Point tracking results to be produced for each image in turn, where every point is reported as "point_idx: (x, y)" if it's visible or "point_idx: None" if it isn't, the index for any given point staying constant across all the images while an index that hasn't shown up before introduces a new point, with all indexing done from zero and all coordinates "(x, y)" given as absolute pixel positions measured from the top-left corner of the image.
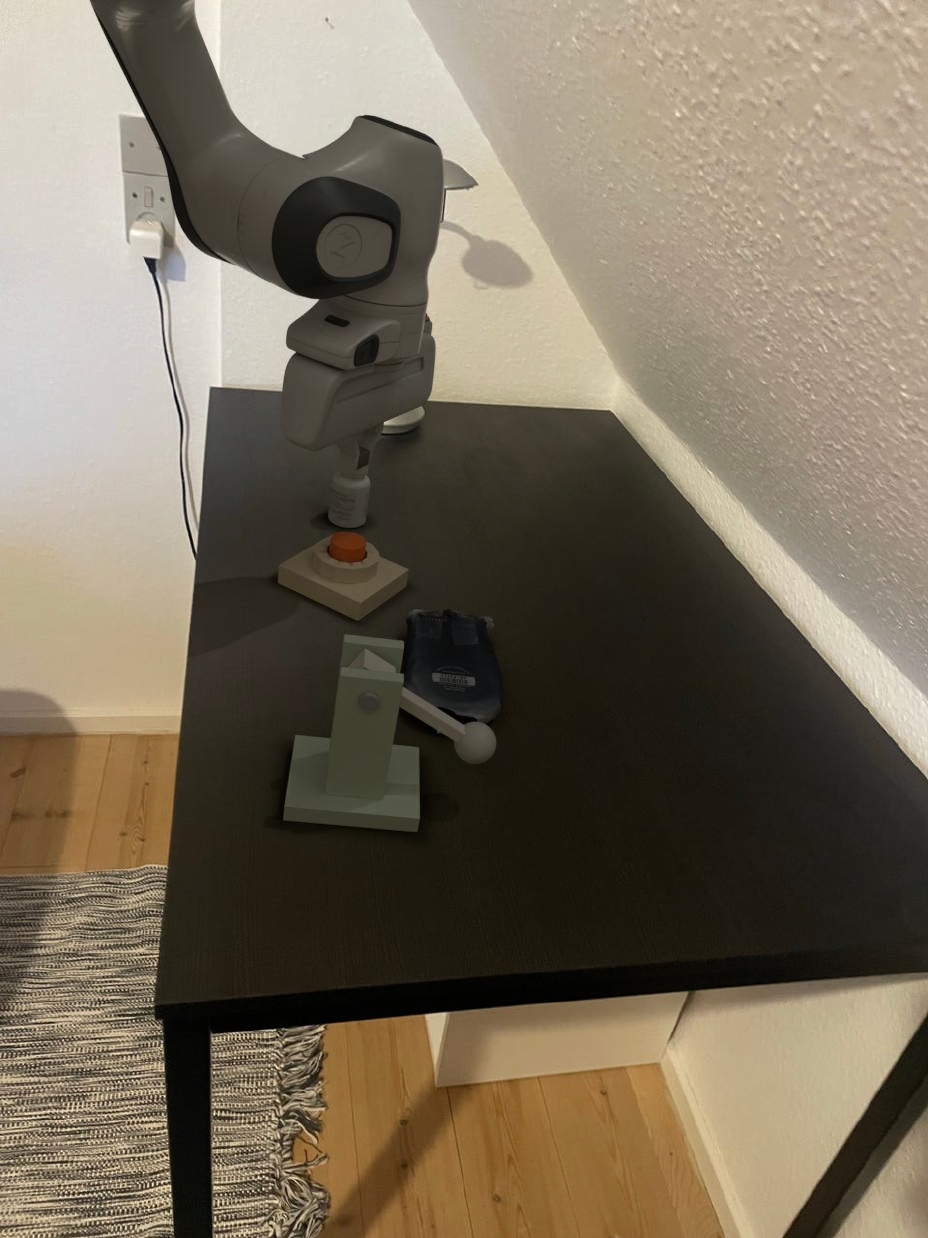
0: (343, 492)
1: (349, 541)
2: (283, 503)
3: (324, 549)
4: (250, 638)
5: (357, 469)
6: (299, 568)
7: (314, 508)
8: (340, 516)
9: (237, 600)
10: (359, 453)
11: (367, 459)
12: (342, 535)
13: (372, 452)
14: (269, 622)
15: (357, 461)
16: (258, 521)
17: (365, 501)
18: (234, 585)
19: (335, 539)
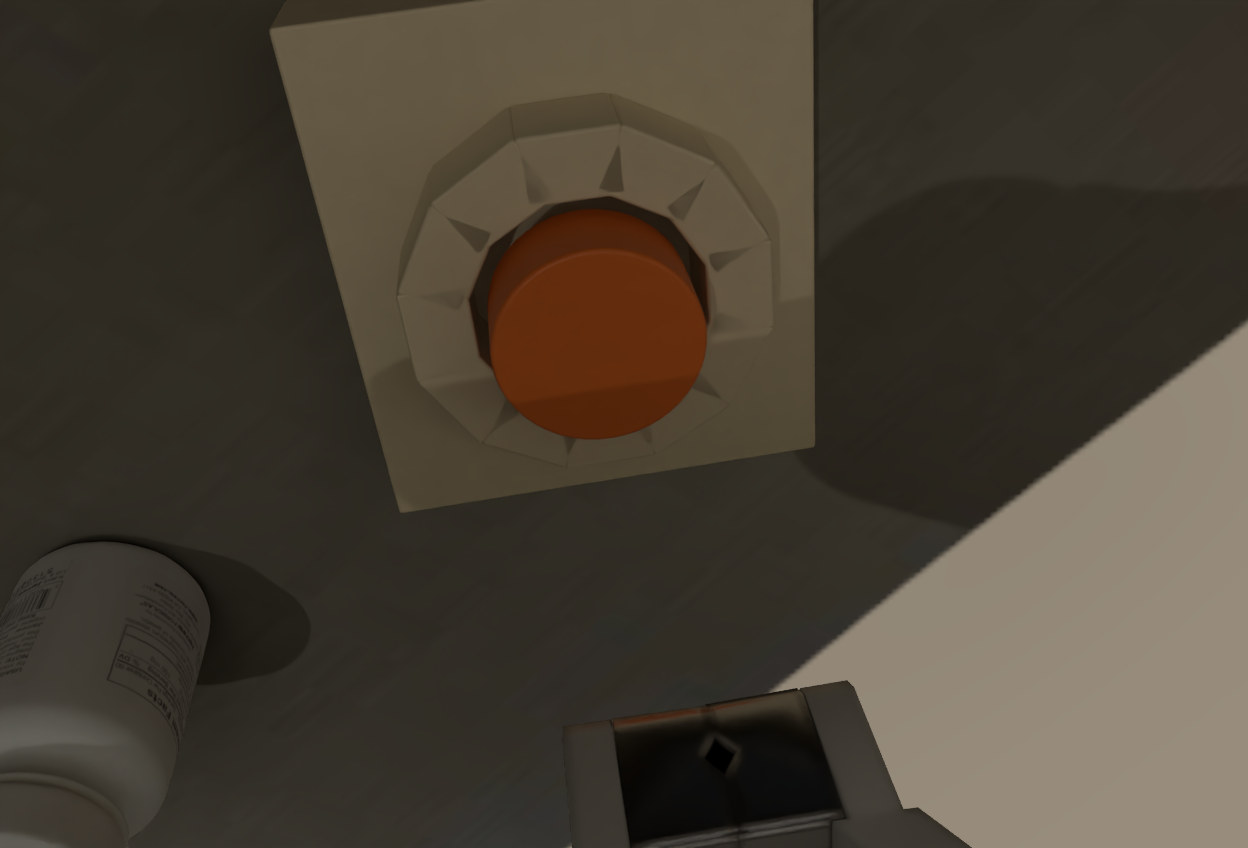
0: (159, 721)
1: (609, 336)
2: (292, 791)
3: None
4: (1207, 161)
5: (784, 693)
6: (774, 378)
7: (192, 724)
8: (190, 618)
9: (1003, 387)
10: (854, 834)
11: (644, 765)
12: (587, 403)
13: (578, 825)
14: (1059, 200)
15: (845, 759)
16: (485, 736)
17: (36, 637)
18: (922, 466)
19: (656, 393)
